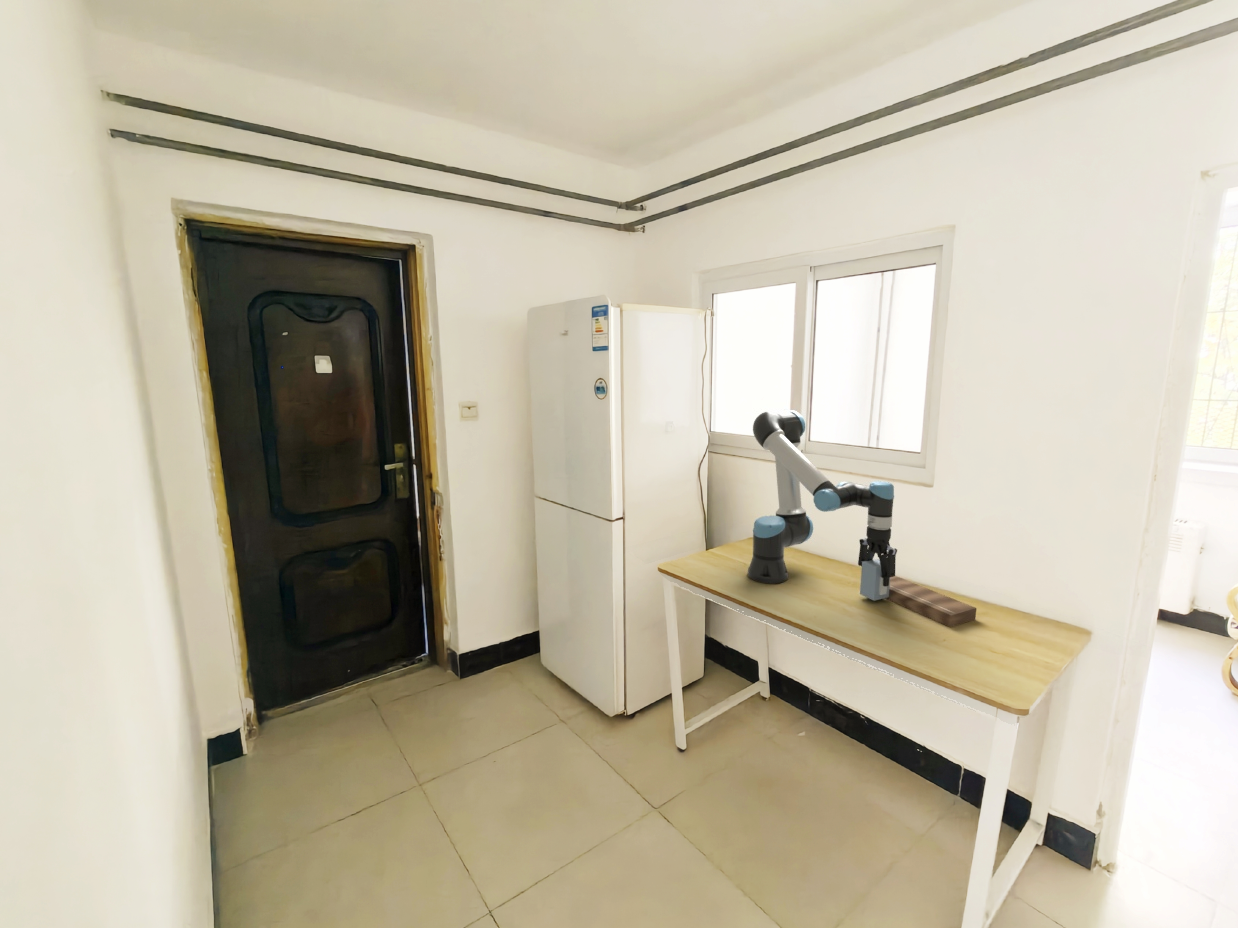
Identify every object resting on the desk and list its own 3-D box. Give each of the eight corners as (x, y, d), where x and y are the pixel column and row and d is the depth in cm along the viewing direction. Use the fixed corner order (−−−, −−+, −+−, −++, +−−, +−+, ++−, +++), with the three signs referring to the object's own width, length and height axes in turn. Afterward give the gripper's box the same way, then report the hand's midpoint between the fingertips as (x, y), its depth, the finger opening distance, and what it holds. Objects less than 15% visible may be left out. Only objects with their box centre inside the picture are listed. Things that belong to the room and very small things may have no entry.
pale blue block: (859, 594, 187) (862, 561, 185) (882, 588, 192) (884, 557, 190) (874, 600, 182) (876, 567, 180) (896, 594, 186) (899, 562, 184)
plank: (870, 591, 193) (871, 580, 192) (894, 585, 197) (895, 575, 197) (950, 627, 166) (951, 614, 165) (975, 619, 170) (976, 607, 170)
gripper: (849, 521, 189) (845, 582, 193) (895, 535, 172) (890, 602, 176) (864, 518, 192) (860, 579, 196) (911, 532, 174) (906, 598, 179)
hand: (874, 590), depth 186 cm, fingers closed on pale blue block, 6 cm apart
